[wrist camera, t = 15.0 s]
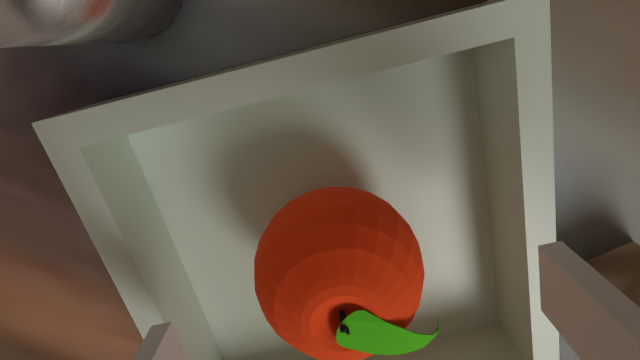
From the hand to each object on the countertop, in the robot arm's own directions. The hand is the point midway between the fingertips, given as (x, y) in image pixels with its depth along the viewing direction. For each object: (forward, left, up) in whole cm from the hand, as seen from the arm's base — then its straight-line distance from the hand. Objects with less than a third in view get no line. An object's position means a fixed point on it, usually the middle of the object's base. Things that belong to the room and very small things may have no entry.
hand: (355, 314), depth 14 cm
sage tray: (0, 0, -7) cm, 7 cm away
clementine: (0, 0, -6) cm, 6 cm away
